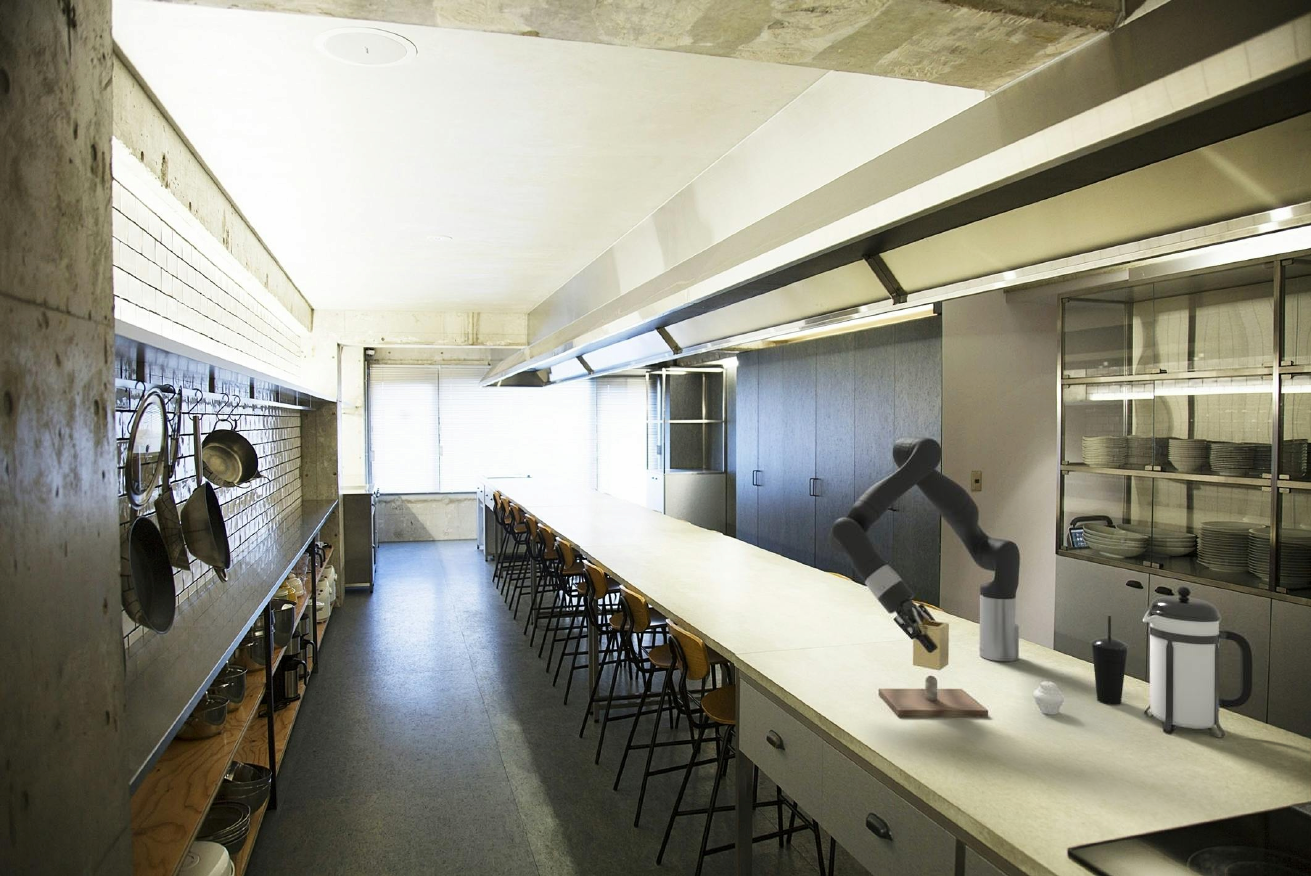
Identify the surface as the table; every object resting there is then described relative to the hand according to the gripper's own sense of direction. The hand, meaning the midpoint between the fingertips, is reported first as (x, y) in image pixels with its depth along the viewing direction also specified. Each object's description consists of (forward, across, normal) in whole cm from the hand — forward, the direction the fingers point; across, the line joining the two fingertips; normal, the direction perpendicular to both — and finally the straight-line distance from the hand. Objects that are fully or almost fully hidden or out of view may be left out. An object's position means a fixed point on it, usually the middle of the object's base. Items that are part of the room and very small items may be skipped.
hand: (938, 647), depth 171 cm
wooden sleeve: (+2, 0, +4) cm, 5 cm away
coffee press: (+42, +24, -22) cm, 53 cm away
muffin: (+24, +13, -4) cm, 28 cm away
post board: (+9, 0, +11) cm, 14 cm away
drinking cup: (+30, +30, -11) cm, 44 cm away
